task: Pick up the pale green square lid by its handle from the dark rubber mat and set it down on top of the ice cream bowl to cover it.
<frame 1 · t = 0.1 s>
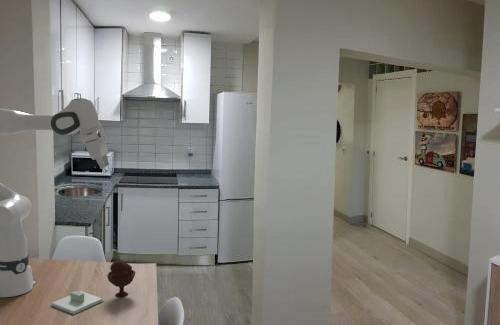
hand: (105, 167, 174), 52 cm above the table, tool tilted 20°, fingers open, 8 cm apart
lid: (77, 303, 162), resting on mat
mat: (77, 304, 162), on the table
ice cream bowl: (121, 296, 171), on the table
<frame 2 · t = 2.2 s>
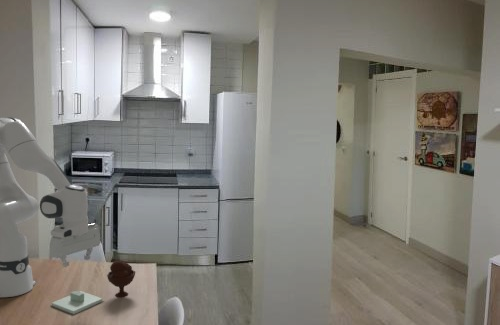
hand: (76, 262, 160), 17 cm above the table, tool pointing down, fingers open, 8 cm apart
nothing on the table moved.
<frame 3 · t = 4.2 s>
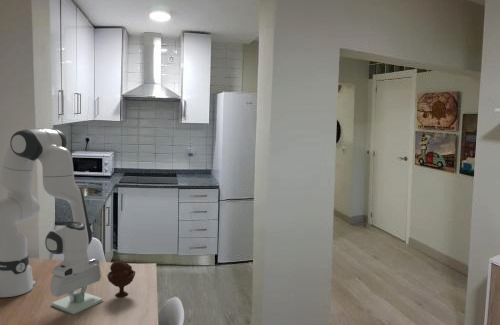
hand: (77, 299, 162), 2 cm above the table, tool pointing down, fingers closed on lid, 2 cm apart
lid: (77, 303, 162), resting on mat, touching gripper
everything else where it was.
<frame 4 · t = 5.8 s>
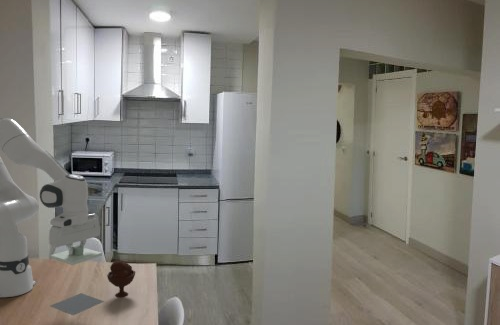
hand: (76, 252, 160), 21 cm above the table, tool pointing down, fingers closed on lid, 2 cm apart
lid: (76, 256, 160), point 19 cm above the table, touching gripper
everything else where it was.
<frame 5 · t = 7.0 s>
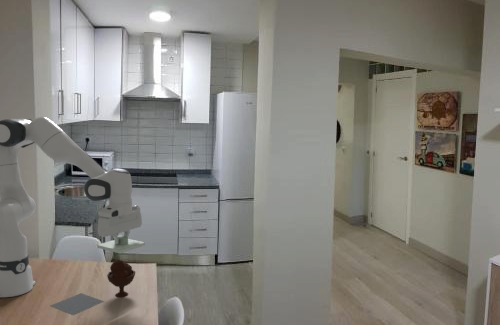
hand: (121, 242, 169), 22 cm above the table, tool pointing down, fingers closed on lid, 2 cm apart
lid: (121, 246, 169), point 21 cm above the table, touching gripper
everything else where it was.
when the fingers open (19 cm above the table, at t = 7.8 s): lid drops 2 cm, resting on ice cream bowl.
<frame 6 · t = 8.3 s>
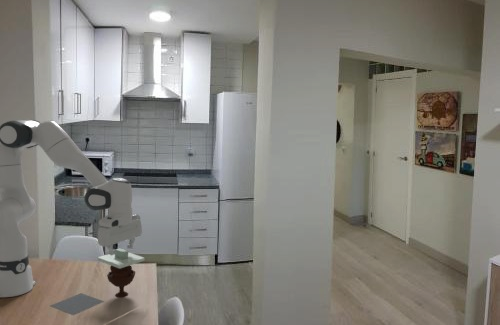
hand: (121, 251, 169), 19 cm above the table, tool pointing down, fingers open, 8 cm apart
lid: (121, 260, 169), point 15 cm above the table, touching ice cream bowl
ice cream bowl: (121, 296, 171), on the table, touching lid
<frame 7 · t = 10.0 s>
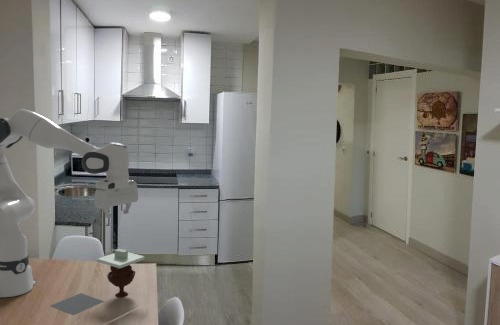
hand: (117, 215, 172), 32 cm above the table, tool pointing down, fingers open, 8 cm apart
nothing on the table moved.
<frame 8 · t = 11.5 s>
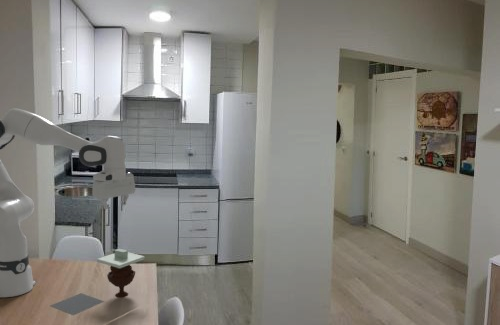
hand: (115, 206, 176), 35 cm above the table, tool pointing down, fingers open, 8 cm apart
nothing on the table moved.
at the end: lid 0.2 cm from the ice cream bowl (horizontally); lid point 15.0 cm above the table; the gripper is holding nothing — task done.
